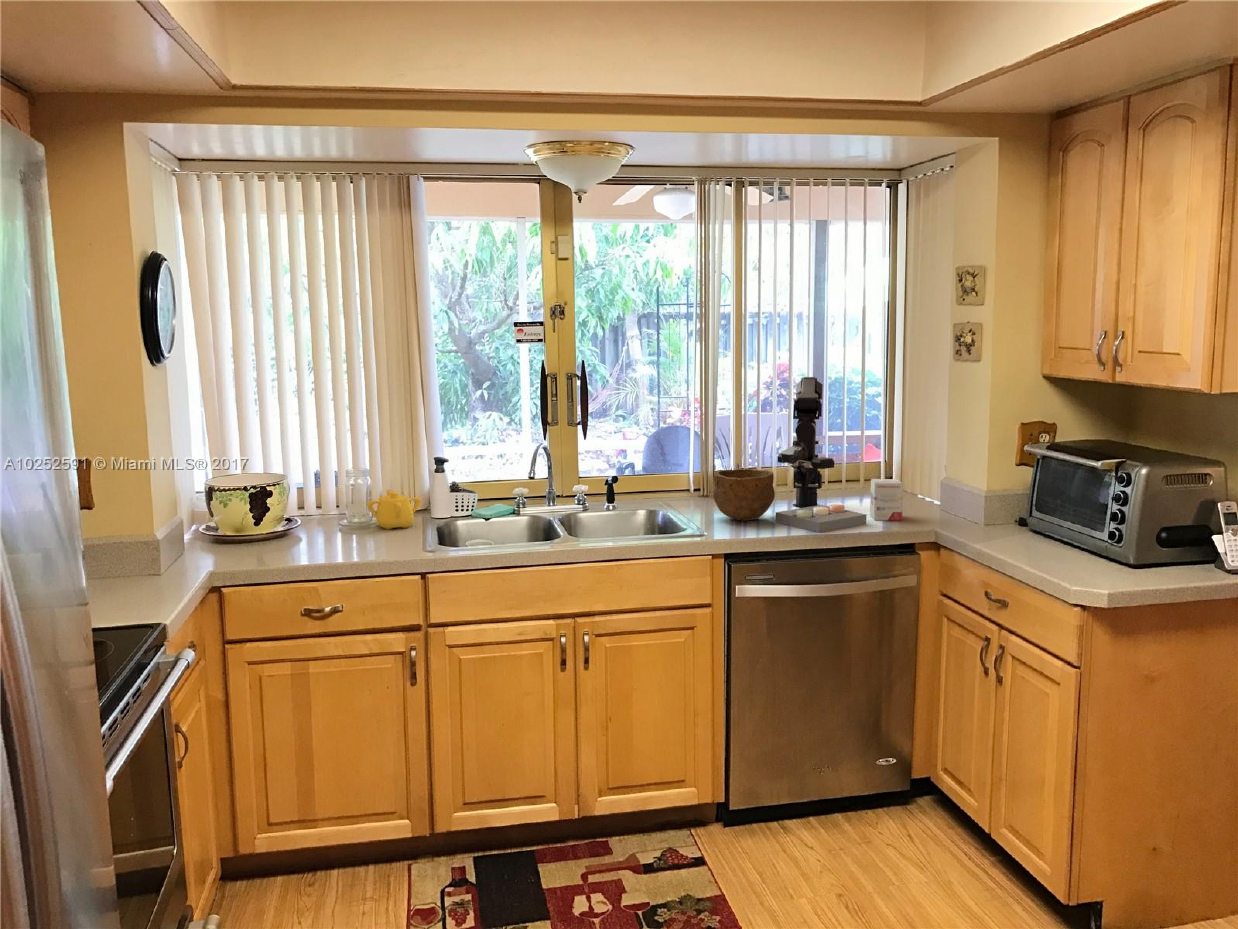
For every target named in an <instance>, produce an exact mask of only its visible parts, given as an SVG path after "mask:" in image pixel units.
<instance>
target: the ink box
mask: <svg viewBox="0 0 1238 929" xmlns="http://www.w3.org/2000/svg"><path fill="white" fill-rule="evenodd" d="M903 487H904V484H903V482H901V481H900V480H899V479H898V478H896V479H895V478H894V479H893V478H891V479H890V478H871V479H870V499H869V500H870V503H869V505H870V506H869V516H870V518H872V519H873V520H874V521H901V520H903V496H904V495H903V493H904V492H903V491H904V488H903Z"/></svg>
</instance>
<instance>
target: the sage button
mask: <svg viewBox="0 0 1238 929" xmlns="http://www.w3.org/2000/svg"><path fill="white" fill-rule="evenodd" d="M797 517H799V518H803V519H805V518H811V517H812V511H810V510H797Z"/></svg>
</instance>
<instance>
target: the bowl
mask: <svg viewBox="0 0 1238 929" xmlns="http://www.w3.org/2000/svg"><path fill="white" fill-rule="evenodd" d="M774 477H775V476H774V471H770V470H765V469H764V470H761V469H756V468H755V469H754V468H752V469H751V468H736V469H730V470H729V469H724V470H723V469H717V470H716V471H714V472H713V487H712V499H713V501H714V503H715V505H716V507H717V508H718V510H719V511H720V512H721V513H722V514H723V515H725V516H727V517H728V518H731V519H733V520H738V521H750V520H751V521H752V520H755V519H758V518H760V517H762V516H763V515H764V514H765V513H766V512H768V510H769V509H770V507H771V505H772V504H773V502H774V501H775V497H776V494H775V488H774V479H775V478H774Z"/></svg>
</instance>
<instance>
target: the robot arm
mask: <svg viewBox="0 0 1238 929" xmlns="http://www.w3.org/2000/svg"><path fill="white" fill-rule="evenodd" d="M800 379H801V380H800V381H799V382H796V385H795V389H796V390H795V398H794V400H793V415H792V418H793V420H797V421H796V426H795V427H796V428H795V430H794V432H795V436H796V440H795V439H794V440H793V441H792V446H790V447H788V448H786V449H784V450H782V451H781V452H780V453H779V454H778V455H777V463H781V464H789V465H790V467H791V468H793V489H795V490H796V492H795V493H796V495H795V503H792V506H794V507H798V508H806V507H812V506H818V505H819V504H818V490H820V489H823V488H822V487H823V474H822V473H821V470H823V469H834V468H835V460H834V458H832V457H826V456H823V457H822V456H821V457H819V454H817V453H816V448H817V447H816V445H819V440H817V439H816V436H817V421H816V420H820V417H822V414H823V413H822V412H823V410H822V409H823V403H822V402H821V401H823V391H824V390H823V388H824V387H823V386H824V385H823V383H821V382H820V381H818V377H816V376H803V377H801V378H800Z"/></svg>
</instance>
